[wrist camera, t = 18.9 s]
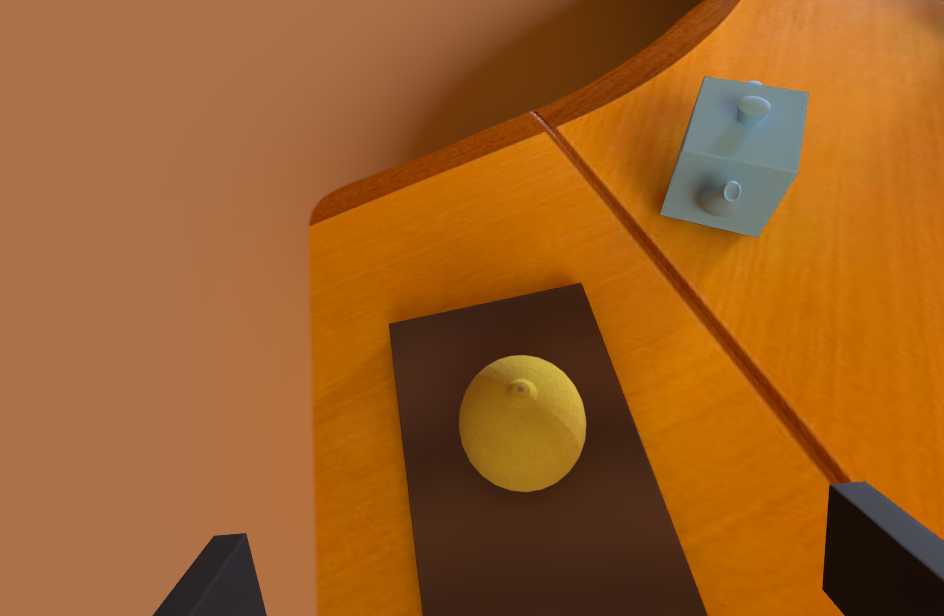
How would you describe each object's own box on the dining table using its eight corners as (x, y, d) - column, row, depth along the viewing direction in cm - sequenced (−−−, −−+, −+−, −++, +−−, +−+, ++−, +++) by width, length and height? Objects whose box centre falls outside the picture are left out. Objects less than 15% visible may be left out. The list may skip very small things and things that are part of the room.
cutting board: (702, 626, 22) (713, 628, 21) (437, 687, 22) (431, 692, 20) (579, 295, 31) (581, 282, 30) (394, 334, 31) (388, 323, 30)
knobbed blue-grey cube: (744, 287, 30) (802, 202, 24) (645, 261, 32) (674, 175, 26) (768, 158, 36) (820, 60, 29) (681, 141, 38) (714, 45, 31)
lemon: (598, 438, 25) (625, 374, 18) (535, 531, 23) (539, 499, 16) (510, 378, 27) (505, 301, 20) (446, 459, 25) (417, 403, 18)
